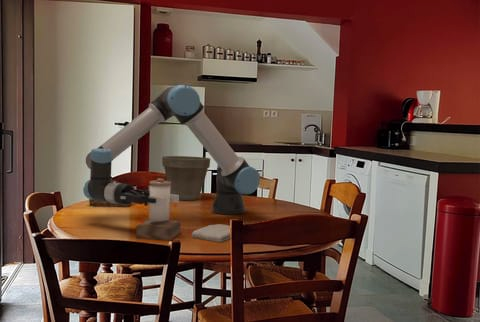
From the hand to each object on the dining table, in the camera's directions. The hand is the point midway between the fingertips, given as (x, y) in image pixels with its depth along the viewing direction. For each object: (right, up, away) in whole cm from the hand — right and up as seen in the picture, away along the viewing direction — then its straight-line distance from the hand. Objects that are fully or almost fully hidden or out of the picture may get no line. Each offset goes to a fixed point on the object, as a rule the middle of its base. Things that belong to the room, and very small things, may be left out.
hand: (171, 200), depth 161 cm
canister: (-5, -7, +3) cm, 9 cm away
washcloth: (+16, -14, +7) cm, 22 cm away
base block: (-5, -12, +3) cm, 14 cm away
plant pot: (-5, -6, +86) cm, 86 cm away
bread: (-36, -7, +58) cm, 69 cm away
